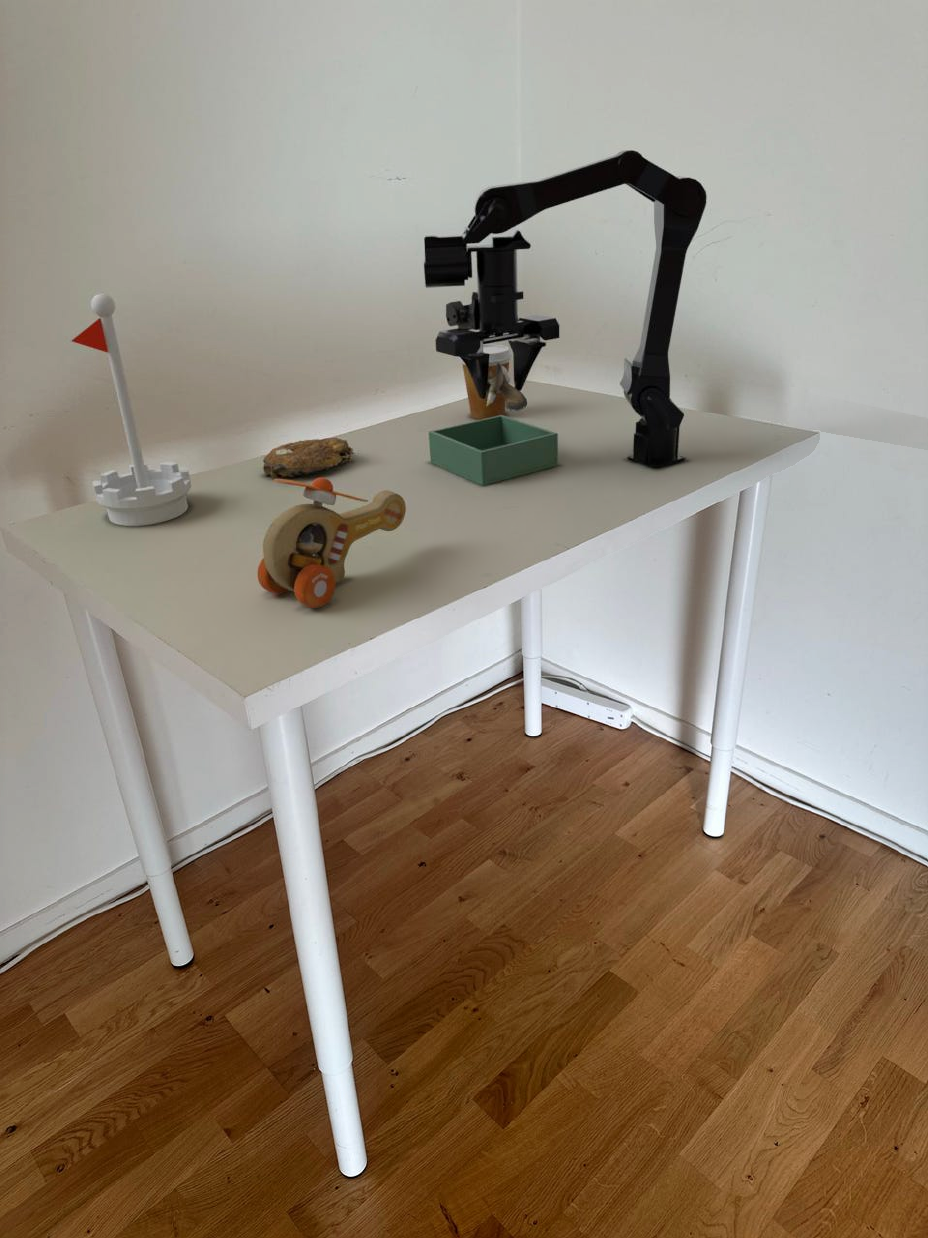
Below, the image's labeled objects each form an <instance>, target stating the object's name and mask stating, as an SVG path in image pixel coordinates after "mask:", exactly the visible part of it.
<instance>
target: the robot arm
mask: <svg viewBox="0 0 928 1238" xmlns="http://www.w3.org/2000/svg"><path fill="white" fill-rule="evenodd" d="M623 185H626V186H628V187H629V188H631V189H632V190H634V191H635V192H637V193H638V194H640V195H641V196H643V197H644V198H645V199H647V200H649V201H650V202H652V203H653V227H654V236H655V237H654V239H655V251H654V252H655V253H654V259H653V264H652V271H651V277H650V282H649V287H648V295H647V301H646V307H645V313H644V318H643V325H642V330H641V337H640V343H639V347H638V350H637V351H636V354H635V356H634V357H633V359H631V358H627V357H625V358H624V360H623V374H622V378H621V380H620V382H619V385H620V386H621V388H622V389H623V394H624V397H625V400H627V402H628V403H629V405H630V406H631V408H632V409H633V410H634V412H635V413H636V414H637V415H638V416H639V417H640V419H638V421H636V422H635V432H633V448H632V454H629V455H627V456H626V458H627V460H629V461H631V462H635V463H638V464H641V465H644V466H647V467H650V468H654V469H660V468H662V467H665V466H669V465H673V464H676V463H679V462H683V461H685V460H686V456H684V455H681V454H679V443H680V429H681V428H680V427H681V424H682V421H683V419H684V417H685V413H684V412H683V411H682V409H680V407H679V406H678V405H677V404H676V403H675V402H674V401H673V400H672V398H671V373H670V360H669V350H670V344H671V338H672V334H673V327H674V322H675V318H676V317H675V316H676V311H677V306H678V300H679V294H680V290H681V284H682V279H683V278H682V277H683V272H684V269H685V268H684V267H685V262H686V257H687V252H688V249H689V247H690V245H691V243H692V241H693V239H694V238H695V235H696V233H697V231H698V229H699V226H700V224H701V220H702V217H703V215H704V212H705V209H706V206H707V197H708V195H707V191H706V190H705V187H704V186H703V184H701V182H700V181H698V180H697V179H695V178H692V177H688V176H682V175H681V176H680V175H679V176H678V175H677V176H676V175H675V174H673V173H670V172H669V171H667V170H665V169H664V168H662V167H660V166H659V165H657V164H655V163H653V162H652V161H650V160H648V159H647V158H645V157H643V155H642V154H641V153H639V151H637V150H632V149H626V150H625V149H624V150H621V151H619V152H618V153H616V154H614V155H612V156H608V157H605V158H602V159H599V160H597V161H596V160H595V161H593V162H590V163H587V164H584V165H581V166H578V167H574V168H572V169H568V170H566V171H563V172H558V173H557V174H553V175H550V176H547V177H544V178H541V179H538V180H531V181H523V182H513V183H512V182H511V183H506V184H505V183H504V184H498V185H497V184H496V185H491V186H487V187H486V188H484V189H482V190H481V191H480V192H479V193H478V195H477V196H476V199H475V201H474V206H473V211H474V214H473V217H472V218H471V220H470V222H469V223H468V225H467V226H464V231H463V232H462V235H461V234H460V235H459V234H457V235H442V236H439V235H434V234H430V235H425V236H424V238H423V242H424V260H423V272H424V273H423V274H424V287H425V289H430V288H431V289H432V288H451V287H465V286H466V282H465V281H469V279H472V278H473V261H472V260H473V259H472V256H473V255H472V253H475V259H476V261H475V262H476V282H477V283H476V285H477V286H476V287H477V291H476V290H475V291H472V293H471V303H468V304H463V303H462V301H461V300H455V301H450V302H448V303H446V304H445V318H446V323H447V325H448V326H449V327H450V328H451V327H455V326H456V327H457V328H451V329H446V330H439V332H437V336H436V337H435V352H437V353H441V354H446V355H449V356H453V357H458V358H459V357H460V358H461V359H462V360H463V362H464V363H465V365H466V367H467V368H468V370H469V372H470V375H471V377H472V380H473V382H474V385H475V387H476V390H477V392H478V395H479V397H480V398H482V399H485V398H486V393H487V385H488V370H489V356H490V354H488V353H484V352H483V345H490V344H495V343H498V342H504V341H508V344H509V347H510V349H511V351H512V358H513V360H512V361H513V364H512V365H513V384H514V387H515V388H516V389H518V390H519V391H520V392H521V391H522V389H523V387H524V386H525V383H526V380H527V378H528V376H529V374H530V371H531V370H532V368H533V366H534V363H535V361H536V360H537V358H538V356H539V354H540V352H541V351H542V349H543V348H544V347H546V346H547V342H546V341H551V340H557V339H560V337H561V325H560V323H559V321H558V319H557V318H556V317H553V316H552V317H551V316H545V315H540V314H535V315H530V316H529V315H527V316H522V317H519V301H520V300H524V291H522V290H519V289H518V288H519V286H518V283H519V282H518V250H529V249H530V248H531V247H532V244H531V242H529V241H528V240H527V239H526V238H525V237H524V236H523V235H522V232H521V230H519V229H516V230H515V231H514V233H513V234H512V235H509V236H507V235H506V236H492V237H491V243H490V244H480V245H471V244H479V243H482V242H483V241H484V240H485V239H486V238H487V237H489V236H490V235H491V234H493V235H499V234H504V233H506V232H507V231H509V230H511V229H513V228H515V227H517V226H519V225H521V224H522V223H524V222H526V221H528V220H529V219H531V218H533V217H534V216H536V215H538V214H539V213H541V212H543V211H545V210H548V209H551V208H554V207H556V206H561V205H563V204H567V203H570V202H572V201H576V200H579V199H581V198H585V197H588V196H591V195H594V194H597V193H601V192H604V191H607V190H610V189H613V188H616V187H619V186H623ZM541 339H542V340H543V341H542V340H541Z"/></svg>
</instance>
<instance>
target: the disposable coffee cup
mask: <svg viewBox="0 0 928 1238" xmlns="http://www.w3.org/2000/svg"><path fill="white" fill-rule="evenodd" d="M483 352H484V353H488V354H490V356H489V370H488V378H489V376H490V372H492V373H493V378H494V377H496V367H497V363H499V364H500V365H502V366H503V367H505V368H506V369H507V372H508V373H509V370H510V362H511V358H513V354H512V353H511V351H510V348H509V346H506V345H503V344H483ZM458 358H459V359H458V360H459V361H460V364H461V365H462V371H463V376H464V377H463V378H464V383H465V388H466V394H467V399H468V400H467V402H468V406H469V412H470V417H471V418H473V419H476V420H482V419H486V418H490V417H495V416H499V415H503V416H506V407H505V399H504V397H503V395H502V394H498V395H497V396H496V397H495V399H494V401H493V402H492V403H490V404H489V405H488V406H486V405H487V401H488V395H487V393H486V398H485V399H482V398H480V397H479V395H478V392H477V390H476V387H475V385H474V382H473V380H472V378H470V376H469V375H468V373H467V371H469V370H468V368H467V367H466V365H465V363H464V362H463V360H462V359H461V358H460V357H458Z"/></svg>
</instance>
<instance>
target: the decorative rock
mask: <svg viewBox="0 0 928 1238" xmlns="http://www.w3.org/2000/svg"><path fill="white" fill-rule="evenodd" d="M355 454H356V453H355V452H354V449H353V447H350V445H349V443H348V440H347V439H341V438H338V437H327V438H326V437H325V438H321V439H317V438H315V439H304V440H298V441H295V442H288V443H285V444H281V445H279V446H277V447H275V448H272V449H271V450H270V451H269V453H268V454H267V455H265V456H264V457H263V460H262V462H263V467H262V468H263V471H264V476H265V477H267V476H270V477H271V479H277V476H278V475H279V476H281V477H282V478H285V477H289V478H295V476H301V475H302V474H304V475H306V476H308V475H309V474H314V473H315V472H317V471H320V470H321V471H327V470H329V468H333V467H337V466H338V465H342V464H345V463H347V462H348V461H350V460H351V458H352V457H353V455H355Z"/></svg>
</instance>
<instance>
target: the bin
mask: <svg viewBox="0 0 928 1238" xmlns="http://www.w3.org/2000/svg"><path fill="white" fill-rule="evenodd" d="M558 436H559V434H558V433H557V432H555V431H552V430H548V429H545V428H542V427H539V426H537V425H534V424H531V423H527V422H524V421H522V420H518V419H515V418H513V417H510V416H506V415H504V416H503V415H499V416H495V417H490V418H486V419H476V420H473V421H469V422H464V423H460V424H455V425H452V426H447V427H442V428H438V429H434V430H430V431H428V441H429V442H428V443H429V456H430V457H429V458H430V463H431V464H433V465H434V466H438V467H440V468H442V469H445V470H446V471H449V472H451V473H452V474H453V473H454V474H456V475H458V476H460V477H462V478H465V479H467V480H468V481H471V482H473V483H476V484H478V485H479V486H480V485H481V486H486V485H490V484H493V483H498V482H502V481H505V480H509V479H512V478H516V477H520V476H523V475H527V474H530V473H534V472H539V471H542V470H546V469H549V468H554V467H556V466H557V467H558V463H559V458H558V455H559V453H558V451H559V448H558V447H559V445H558V444H559V440H558V439H559V437H558Z"/></svg>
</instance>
